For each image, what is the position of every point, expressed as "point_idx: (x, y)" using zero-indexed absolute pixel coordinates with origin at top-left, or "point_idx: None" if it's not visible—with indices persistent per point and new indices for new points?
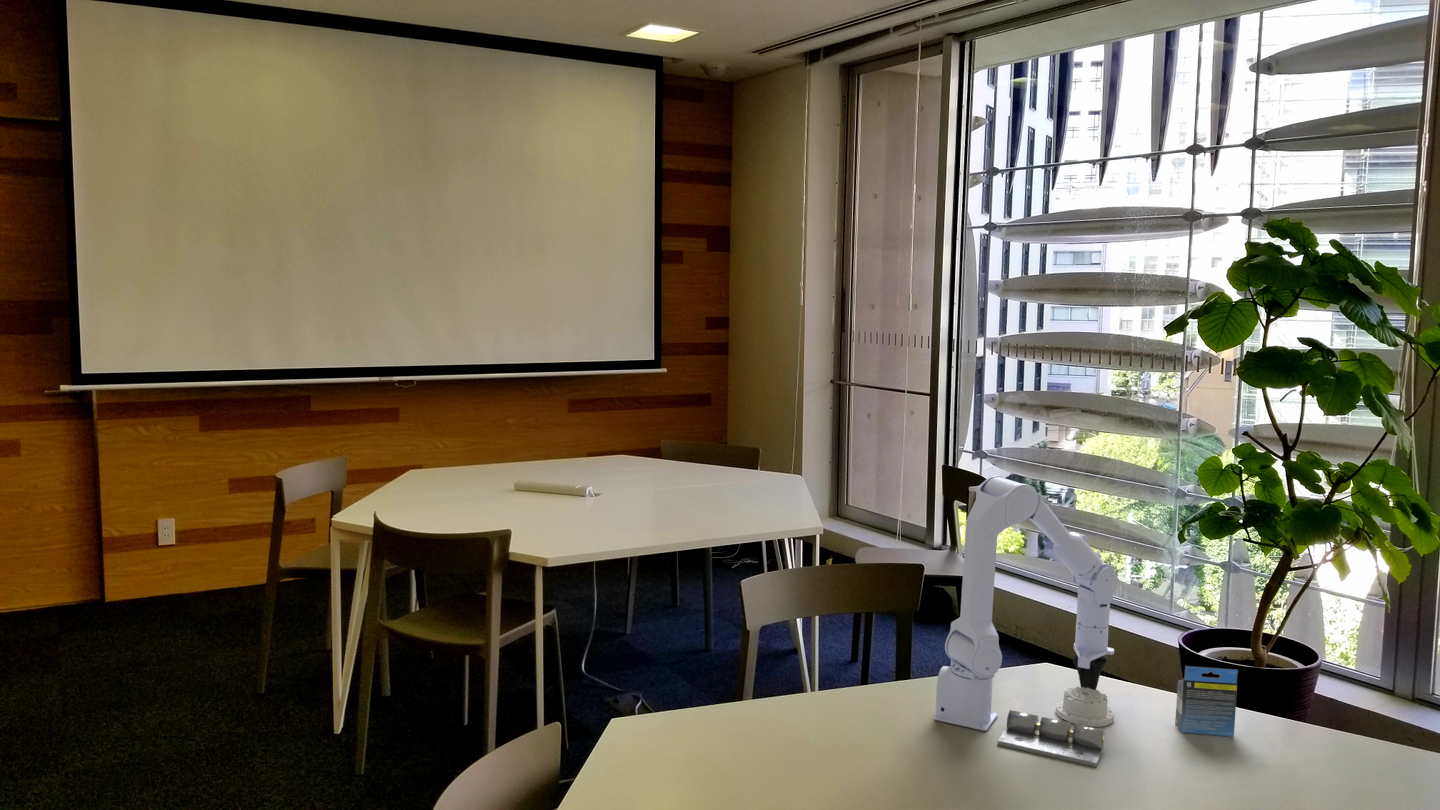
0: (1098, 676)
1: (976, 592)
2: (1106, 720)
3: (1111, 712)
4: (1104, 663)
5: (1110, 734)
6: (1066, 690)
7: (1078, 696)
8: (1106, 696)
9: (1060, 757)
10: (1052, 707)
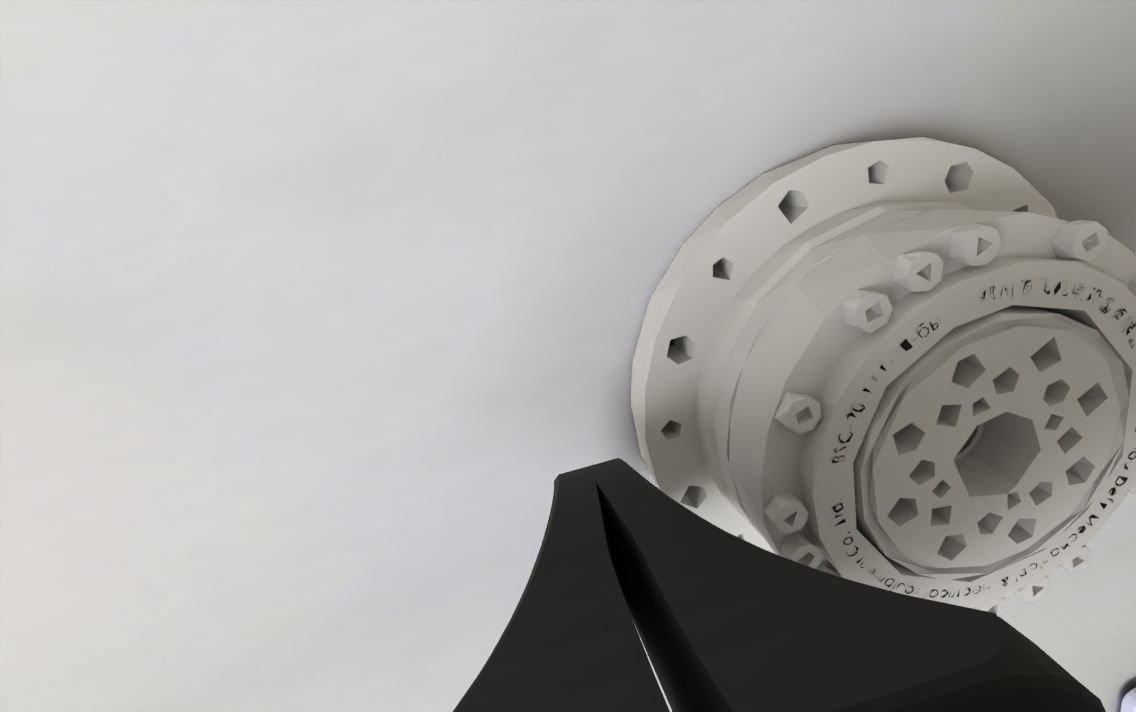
0: (722, 554)
1: None
2: (983, 158)
3: (800, 191)
4: (967, 704)
5: (1089, 61)
6: None
7: (1100, 470)
8: (929, 260)
9: None
10: None
